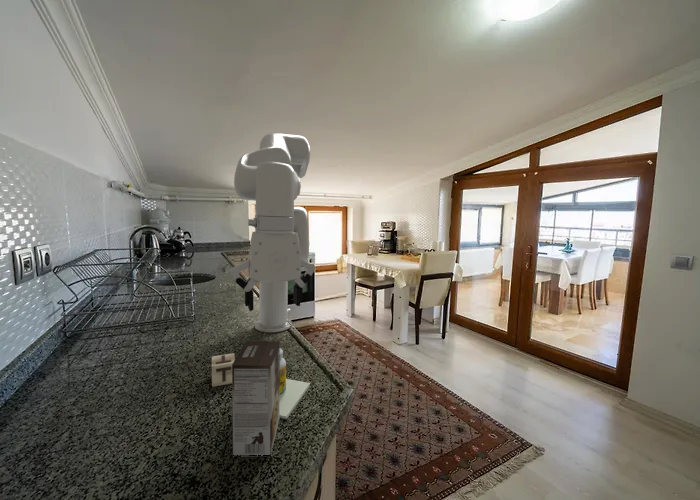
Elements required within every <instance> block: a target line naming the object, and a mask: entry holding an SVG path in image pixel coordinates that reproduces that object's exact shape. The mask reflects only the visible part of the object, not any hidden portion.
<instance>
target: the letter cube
mask: <svg viewBox="0 0 700 500" xmlns="http://www.w3.org/2000/svg"><path fill="white" fill-rule="evenodd" d="M235 359H236V356H235V353H226V354H221V355H220V354H219V355H213V356H211V386H212V388H215V387H218V386H219V387H221V386H225V385H231V384H232V364H233V362H234V361H235Z"/></svg>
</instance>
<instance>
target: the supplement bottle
mask: <svg viewBox="0 0 700 500" xmlns="http://www.w3.org/2000/svg"><path fill="white" fill-rule="evenodd" d="M283 356H284V351H283V349H282V348H281V347H280V397H282V396H283V395H284V394H285V392H286V379H287V361H286V359H285V358H284V357H283Z"/></svg>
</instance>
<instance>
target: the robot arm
mask: <svg viewBox="0 0 700 500" xmlns="http://www.w3.org/2000/svg"><path fill="white" fill-rule="evenodd" d="M310 159H311V146H310V143H309V141H308V139H307V138H306V137H305V136H303V135H297V134H286V133H280V132H279V133H278V132H271V133H270V132H269V133H267V134H265V135H264V136H263V137H262V138H261V140H260V142H259V149H257V150H254V151H251V152H247V153H246V154H243V155H242V156H241V157H239V160H238V162H237V165H236V168H235V172H234V179H233V184H234V190H235V193H236V195H237V196H238V197H239V198H240V199H242V200H246V201H255V216H254V217H253V218H251V219H250V218H248V219H247V226H249V227H253V228H254V229H255V231H252V232H251V236H250V237H251V238H250V242H249V244H250V246H249V253H248V259H247V260H245V261H243V262H241V263H239V264H237V265H235V266H233V267H232V268H230V269H229V273H230V276H232V278H233V280H234V282H235V284H237V285H238V286H239V287H240V288H241V289H243V290H244V306H245V307H247V309H248V310H249V312H252V311H254V291H253V288H254V287H255V286H256V285H257V283H259V307H258V308H259V310H258V311H259V317H258V318H259V319H258V320H256V321H255V323H254V328H255V330H256V331H259V332H261V333H262V332H263V333H279V332H284V331H286V330H288V329H290V328H291V327H292V323H293V322H292V320H291V319H290V318H288V314H290V313H291V312H292V310H291V308H288V301H289V300H288V299H289V298H288V297H289V296H288V295H289V294H288V290H289V289H288V285H289V283H288V282H291V281H292V282H294V285H293V294H292V295H293V296H292V297H293V299H292V300H293V301H292V302H293V304H295V306H297V307H300V306H301V302H302V301H303V296H304V295H303V291H304V289H303V288H304V287H305V286H306V284H307V283H308V282H309V281H310V280H311V277H312V276H313V274H314V271H315V270H316V266H314V265H313V264H311V263H309V262H308V260H309V255H310V254H309V253H310V252H309V251H310V235H309V234H310V232H309V231H310V229H309V228H310V226H309V221H310V220H309V214H308V211H307V209H306V208H305V207H302V206H299V205H298V206H297V205H295V200H297V198H298V196H300V194H301V188H302V185H301V179H303V178H304V177H305V176H306V174H307V171H308V167H309V164H310ZM302 268H305V269H306V270H305V272H304V273H303V275H302ZM247 269H248V276H249V277H248V278H247V279H246V280H244V279H243V278H242V277H241V275H240V273H241V272H242V271H243V272H244V271H245V270H247ZM301 275H302V276H301ZM287 321H288V322H289V323H290V324H291V325H290V324H289V323H288V322H287ZM290 326H291V327H290Z"/></svg>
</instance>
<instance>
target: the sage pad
mask: <svg viewBox="0 0 700 500" xmlns="http://www.w3.org/2000/svg"><path fill="white" fill-rule="evenodd" d="M310 386H311V383H310V382H305V381H300V380H295V379H290V378H286V392H285V394H284V395H283V396H282V397H280V398H279V416H280V418H279V419H283V420H287V419H288V418H289V416H290V415H291V414H292V412H293V411H294V409H295V408H296V407H297V405H298V404H299V402H300V401H301V400H302V398H303V396H304V395H305V393H306V392H307V390H308V389H309V388H310Z"/></svg>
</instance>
